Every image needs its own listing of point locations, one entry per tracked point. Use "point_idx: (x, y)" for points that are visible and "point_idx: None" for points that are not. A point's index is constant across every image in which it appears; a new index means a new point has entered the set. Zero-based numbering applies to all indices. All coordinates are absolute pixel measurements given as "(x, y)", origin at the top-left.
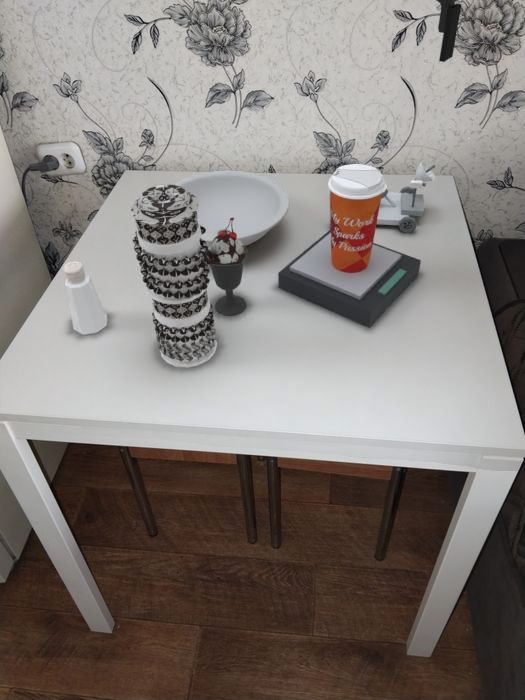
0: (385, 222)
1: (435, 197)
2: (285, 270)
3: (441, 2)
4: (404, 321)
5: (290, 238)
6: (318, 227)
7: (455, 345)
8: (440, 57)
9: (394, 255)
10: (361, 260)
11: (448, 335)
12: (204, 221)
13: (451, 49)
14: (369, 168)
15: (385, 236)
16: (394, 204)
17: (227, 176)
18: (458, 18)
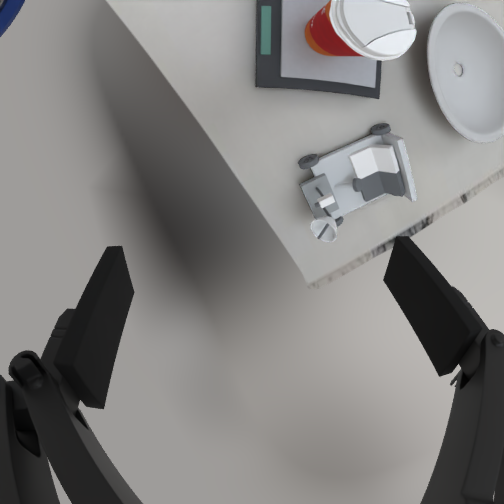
0: (333, 152)
1: (305, 240)
2: None
3: (502, 335)
4: (229, 10)
5: (408, 85)
6: (393, 118)
7: (166, 11)
8: (410, 240)
9: (288, 70)
10: (310, 19)
11: (179, 18)
12: (478, 77)
13: (396, 281)
14: (378, 45)
15: (323, 137)
16: (338, 185)
17: (496, 128)
18: (426, 344)
